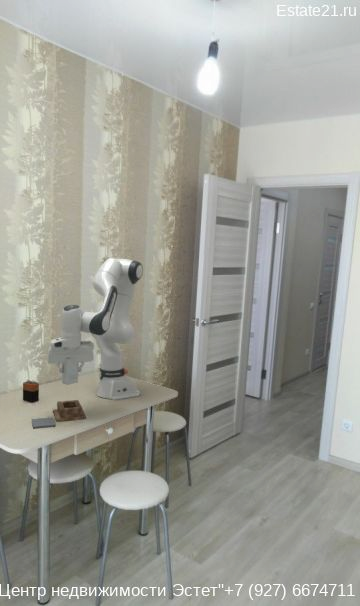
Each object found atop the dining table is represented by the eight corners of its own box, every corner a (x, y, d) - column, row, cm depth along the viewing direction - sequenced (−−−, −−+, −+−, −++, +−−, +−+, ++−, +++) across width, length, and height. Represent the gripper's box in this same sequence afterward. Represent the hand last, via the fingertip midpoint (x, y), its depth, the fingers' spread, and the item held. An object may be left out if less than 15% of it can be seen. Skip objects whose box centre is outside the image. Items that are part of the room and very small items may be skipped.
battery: (32, 403, 219) (32, 383, 218) (22, 400, 222) (22, 380, 221) (39, 400, 223) (39, 381, 222) (28, 398, 226) (29, 378, 225)
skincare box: (72, 380, 207) (73, 354, 206) (78, 382, 204) (79, 356, 203) (61, 383, 203) (61, 356, 201) (67, 385, 200) (67, 358, 198)
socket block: (81, 409, 213) (81, 399, 213) (86, 419, 202) (86, 408, 201) (52, 411, 209) (53, 401, 208) (56, 422, 197) (56, 410, 196)
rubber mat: (52, 418, 200) (53, 417, 200) (55, 426, 192) (55, 424, 192) (31, 420, 196) (31, 419, 196) (33, 428, 188) (33, 426, 188)
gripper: (92, 339, 208) (91, 368, 210) (46, 341, 200) (46, 371, 202) (95, 342, 202) (94, 372, 204) (48, 343, 195) (47, 375, 196)
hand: (70, 371), depth 203 cm, fingers closed on skincare box, 7 cm apart
